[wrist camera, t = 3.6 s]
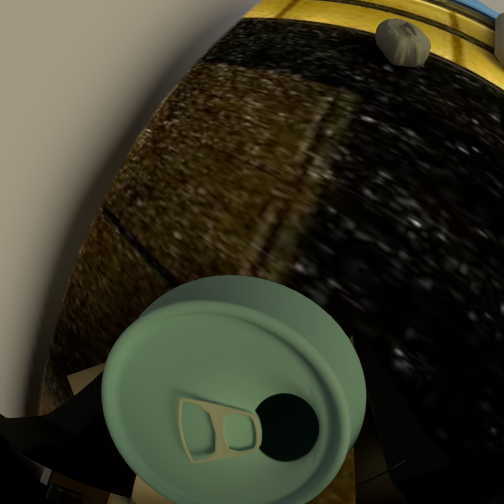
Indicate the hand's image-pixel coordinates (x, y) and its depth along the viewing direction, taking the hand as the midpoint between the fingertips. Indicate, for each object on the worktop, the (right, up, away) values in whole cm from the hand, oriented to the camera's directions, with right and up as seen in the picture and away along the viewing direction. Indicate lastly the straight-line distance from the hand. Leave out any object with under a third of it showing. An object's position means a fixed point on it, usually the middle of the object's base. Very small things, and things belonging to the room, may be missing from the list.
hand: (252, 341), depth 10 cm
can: (+1, -3, +7) cm, 7 cm away
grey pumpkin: (+14, +22, +9) cm, 28 cm away
